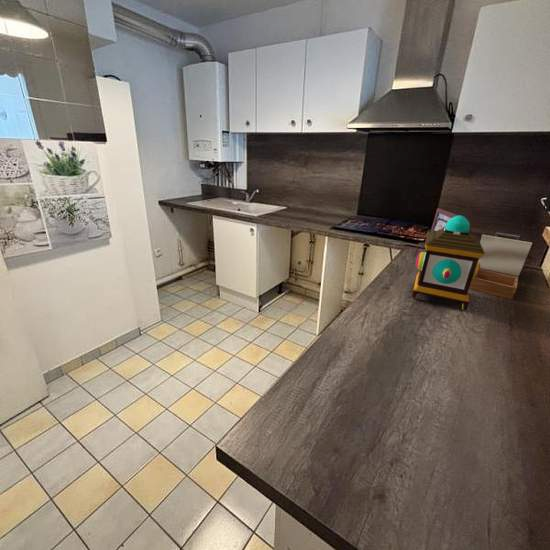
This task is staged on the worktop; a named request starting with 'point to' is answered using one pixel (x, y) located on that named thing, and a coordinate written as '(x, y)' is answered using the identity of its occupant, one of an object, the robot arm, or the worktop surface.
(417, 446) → the worktop surface
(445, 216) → the picture frame
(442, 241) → the decorative lantern
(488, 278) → the open wooden box
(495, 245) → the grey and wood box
